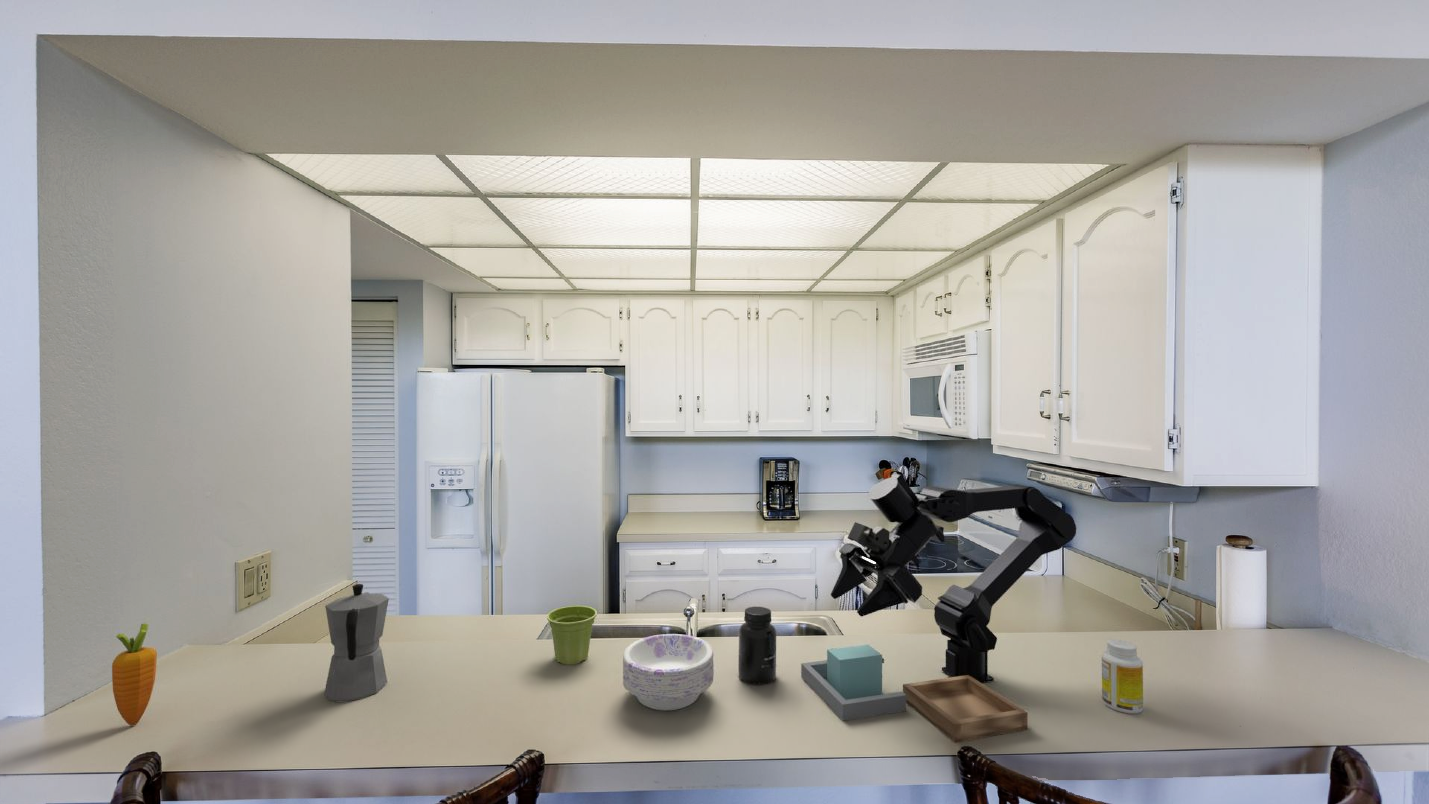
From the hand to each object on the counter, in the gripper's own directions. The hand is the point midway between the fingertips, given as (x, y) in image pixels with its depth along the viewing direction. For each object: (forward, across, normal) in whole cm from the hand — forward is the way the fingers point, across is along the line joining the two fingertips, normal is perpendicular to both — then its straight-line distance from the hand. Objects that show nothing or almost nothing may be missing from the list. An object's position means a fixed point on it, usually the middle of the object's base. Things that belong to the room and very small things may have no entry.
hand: (845, 605), depth 100 cm
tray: (-1, +11, +21) cm, 24 cm away
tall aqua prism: (+9, 0, +13) cm, 15 cm away
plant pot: (+43, -27, -18) cm, 54 cm away
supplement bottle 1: (+19, -10, +4) cm, 22 cm away
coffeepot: (+70, -23, -41) cm, 85 cm away
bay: (+8, 0, +12) cm, 15 cm away
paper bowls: (+32, -7, -8) cm, 34 cm away
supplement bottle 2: (-22, +16, +39) cm, 47 cm away
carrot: (+92, -20, -60) cm, 112 cm away
